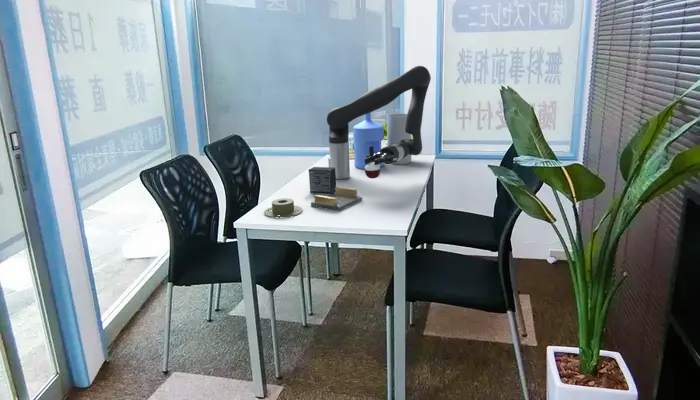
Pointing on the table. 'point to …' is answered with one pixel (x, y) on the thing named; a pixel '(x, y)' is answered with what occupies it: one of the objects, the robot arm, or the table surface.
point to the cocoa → (372, 166)
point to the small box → (322, 180)
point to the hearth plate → (337, 199)
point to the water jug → (366, 140)
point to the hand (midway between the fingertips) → (370, 161)
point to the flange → (283, 208)
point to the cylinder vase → (397, 133)
